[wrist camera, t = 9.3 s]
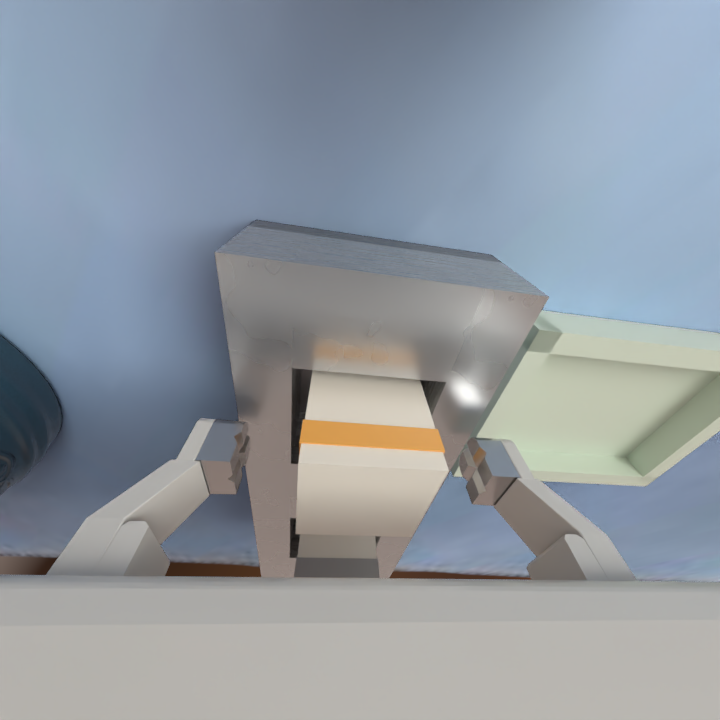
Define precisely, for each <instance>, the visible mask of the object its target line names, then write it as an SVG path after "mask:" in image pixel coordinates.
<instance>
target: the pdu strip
mask: <svg viewBox="0 0 720 720" xmlns="http://www.w3.org/2000/svg"><path fill="white" fill-rule="evenodd" d="M215 259H216V266H217V273H218V280H219V286H220V293H221V300H222V307H223V314H224V321H225V328H226V335H227V342H228V349H229V356H230V363H231V370H232V377H233V384H234V390H235V397H236V404H237V411H238V418H239V421H242V422H248V427H249V430H248V433H247V435H248V436H249V437H250V451H249V456H248V460H247V463H246V465H245V467H246V474H247V481H248V488H249V495H250V501H251V508H252V515H253V522H254V529H255V536H256V543H257V550H258V557H259V564H260V571H261V577H288V578H294V572H295V564H296V557H298V548H299V540H300V534H296V509H297V482H298V461H299V442H300V435H301V429H302V423H303V419H304V420H305V416H306V409H307V403H308V396H309V390H310V383H311V377H312V370H318V371H329V372H340V373H351V374H362V375H373V376H384V377H395V378H406V379H416V380H420V382H421V385H422V388H423V391H424V394H425V397H426V400H427V404H428V407H429V410H430V413H431V416H432V419H433V422H434V426H435V429H438V431H439V434H440V437H441V440H442V443H443V446H444V449H445V452H444V457H445V460H446V463H447V466H448V470H449V472H450V470H451V468H452V467H453V465H454V463H455V461H456V460H457V458H458V456H459V454H460V453H461V451H462V449H463V447H464V446H465V444H466V442H467V440H468V439H469V437H470V435H471V433H472V432H473V430H474V428H475V426H476V425H477V423H478V421H479V419H480V418H481V416H482V414H483V412H484V411H485V409H486V407H487V405H488V404H489V402H490V400H491V398H492V396H493V395H494V393H495V391H496V389H497V388H498V386H499V384H500V382H501V381H502V379H503V377H504V375H505V374H506V372H507V370H508V368H509V367H510V365H511V363H512V361H513V360H514V358H515V356H516V354H517V353H518V351H519V349H520V347H521V346H522V344H523V342H524V340H525V339H526V337H527V335H528V333H529V332H530V330H531V328H532V326H533V324H534V323H535V321H536V319H537V317H538V316H539V314H540V312H541V310H542V309H543V307H544V305H545V303H546V302H547V300H548V298H549V296H547V295H546V294H545V293H543V292H542V291H541V290H539V289H538V288H536V287H535V286H534V285H532V284H531V283H530V282H528V281H527V280H525V279H524V278H523V277H521V276H520V275H519V274H517V273H516V272H514V271H513V270H512V269H510V268H509V267H508V266H506V265H505V264H503V263H502V262H501V261H499V260H498V259H497V258H495V257H494V256H492V255H489V254H482V253H476V252H469V251H462V250H456V249H449V248H442V247H435V246H429V245H422V244H415V243H409V242H402V241H395V240H388V239H382V238H375V237H368V236H362V235H355V234H348V233H341V232H335V231H328V230H321V229H315V228H308V227H301V226H294V225H288V224H281V223H274V222H268V221H261V220H255V221H254V222H253V223H251V224H250V225H249V226H247V227H246V228H245V229H243V230H242V231H241V232H240V233H238V234H237V235H236V236H234V237H233V238H232V239H231V240H229V241H228V242H227V243H225V244H224V245H223V246H222V247H220V248H219V249H218V250H216V251H215ZM449 472H448V474H449ZM448 474H447V475H446V477H447V476H448ZM446 477H445V479H446ZM445 479H444V481H445ZM444 481H443V482H442V484H443V483H444ZM442 484H441V486H442ZM441 486H440V488H441ZM440 488H439V490H440ZM439 490H438V491H439ZM438 491H437V493H438ZM437 493H436V495H437ZM436 495H435V497H436ZM435 497H434V498H435ZM434 498H433V500H434ZM433 500H432V502H433ZM432 502H431V504H432ZM431 504H430V505H431ZM430 505H429V507H430ZM429 507H428V509H429ZM428 509H427V511H428ZM427 511H426V512H427ZM425 514H426V513H425ZM425 514H424V516H425ZM424 516H423V518H424ZM423 518H422V519H423ZM421 521H422V520H421ZM421 521H420V523H421ZM420 523H419V525H420ZM419 525H418V526H419ZM417 528H418V527H417ZM417 528H416V530H417ZM416 530H415V532H416ZM415 532H414V533H415ZM413 535H414V534H413ZM413 535H412V537H413ZM412 537H390V536H375V539H376V553H377V559H378V564H379V577H380V578H389V577H390V576H391V574H392V572H393V570H394V569H395V567H396V565H397V563H398V562H399V560H400V558H401V556H402V555H403V553H404V551H405V549H406V548H407V546H408V544H409V542H410V541H411V539H412Z"/></svg>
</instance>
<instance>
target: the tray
mask: <svg viewBox="0 0 720 720" xmlns="http://www.w3.org/2000/svg"><path fill="white" fill-rule="evenodd" d="M719 431H720V333H715V332H708V331H700V330H692V329H684V328H676V327H668V326H660V325H653V324H645V323H637V322H629V321H621V320H613V319H606V318H598V317H590V316H582V315H574V314H566V313H559V312H551V311H543V310H541V312H540V314H539V316H538V317H537V319H536V321H535V323H534V324H533V326H532V328H531V330H530V332H529V333H528V335H527V337H526V339H525V340H524V342H523V344H522V346H521V347H520V349H519V351H518V353H517V354H516V356H515V358H514V360H513V361H512V363H511V365H510V367H509V368H508V370H507V372H506V374H505V375H504V377H503V379H502V381H501V382H500V384H499V386H498V388H497V389H496V391H495V393H494V395H493V396H492V398H491V400H490V402H489V404H488V405H487V407H486V409H485V411H484V412H483V414H482V416H481V418H480V419H479V421H478V423H477V425H476V426H475V428H474V430H473V432H472V433H471V435H470V437H469V439H470V438H472V437H476V438H494V439H505V440H511V441H513V442H514V443H515V445H516V447H517V449H518V450H519V452H520V454H521V456H522V457H523V459H524V461H525V463H526V464H527V466H528V468H529V470H530V471H531V473H532V475H533V476H534V478H535V479H539V480H540V481H551V482H570V483H590V484H609V485H628V486H647V485H648V484H650V483H651V482H652V481H654V480H655V479H656V478H658V477H659V476H660V475H662V474H663V473H664V472H666V471H667V470H668V469H670V468H671V467H672V466H674V465H675V464H676V463H678V462H679V461H680V460H682V459H683V458H684V457H686V456H687V455H688V454H690V453H691V452H692V451H693V450H695V449H696V448H697V447H699V446H700V445H701V444H703V443H704V442H705V441H707V440H708V439H709V438H711V437H712V436H713V435H715V434H716V433H717V432H719ZM469 439H468V440H469ZM468 440H467V442H468ZM467 442H466V444H465V446H464V447H463V449H462V451H463V450H465V449H466V448H468V445H467ZM462 451H461V453H462ZM461 453H460V454H459V456H458V458H457V460H456V461H455V463H454V465H453V467H452V468H451V472H452V475H453V476H455V477H463V476H462V474H461V471H460V467H459V458H460V455H461Z"/></svg>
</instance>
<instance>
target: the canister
mask: <svg viewBox="0 0 720 720" xmlns="http://www.w3.org/2000/svg"><path fill="white" fill-rule="evenodd" d="M61 423H62V415H61V409H60V406H59V403H58V401H57V398H56V396H55V394H54V392H53V391H52V389H51V387H50V386H49V384H48V383H47V381H46V380H45V379H44V377H43V376H42V375H41V373H40V372H39V371H38V370H37V369H36V368H35V366H34V365H33V364H32V363H31V362H30V361H29V360H28V359H27V358H26V357H25V356H24V355H23V354H22V353H20V352H19V351H18V350H17V349H16V348H15V347H14V346H13V345H11V344H10V343H9V342H8V341H7V340H5V339H4V338H3V337H1V336H0V496H1V495H2V494H3V493H4V492H5V491H6V490H7V489H8V488H9V487H11V486H13V485H14V484H16V483H18V482H19V481H21V480H22V479H23V478H24V477H25V476H26V475H27V474H28V473H29V472H30V470H31V469H32V468H33V467H34V466H35V465H37V464H38V463H39V462H40V461H41V459H42V458H43V457H44V455H45V454H46V452H47V450H48V447H49V445H50V444H51V442H52V441H53V440H54V439H55V438H56V436H57V435H58V433H59V431H60V428H61Z"/></svg>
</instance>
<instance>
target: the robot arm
mask: <svg viewBox="0 0 720 720" xmlns="http://www.w3.org/2000/svg"><path fill="white" fill-rule="evenodd" d="M248 430H249V427H248V422H242V421H231V420H221V419H209V418H200V419H199V420H198V421H197V422H196V424H195V426H194V428H193V430H192V431H191V433H190V435H189V437H188V439H187V440H186V442H185V444H184V446H183V448H182V449H181V451H180V453H179V455H178V457H177V458H176V460H172V459H171V460H169V461H168V462H167V463H165V464H164V465H162V466H161V467H159V468H158V469H156V470H155V471H154V472H152V473H151V474H149V475H148V476H146V477H145V478H143V479H142V480H141V481H139V482H138V483H136V484H135V485H133V486H132V487H130V488H129V489H128V490H126V491H125V492H123V493H122V494H120V495H119V496H117V497H116V498H115V499H113V500H112V501H110V502H109V503H107V504H106V505H105V506H103V507H102V508H100V509H99V510H97V511H96V512H94V513H93V514H92V515H90V516H89V517H87V518H86V519H85V521H84V522H83V524H82V525H81V526H80V528H79V529H78V531H77V532H76V533H75V535H74V536H73V538H72V539H71V541H70V542H69V543H68V545H67V546H66V548H65V549H64V550H63V552H62V553H61V555H60V556H59V557H58V559H57V560H56V562H55V563H54V564H53V566H52V567H51V569H50V570H49V571H48V573H47V574H46V575H0V720H720V582H688V581H637V579H636V578H635V576H634V575H633V573H632V572H631V570H630V569H629V567H628V566H627V564H626V563H625V561H624V560H623V558H622V557H621V555H620V554H619V552H618V551H617V549H616V548H615V546H614V545H613V543H612V542H611V540H610V539H609V537H608V536H607V535H606V534H605V533H604V532H603V531H602V530H600V529H599V528H598V527H597V526H595V525H594V524H593V523H592V522H591V521H589V520H588V519H587V518H586V517H584V516H583V515H582V514H581V513H579V512H578V511H577V510H576V509H575V508H573V507H572V506H571V505H570V504H568V503H567V502H566V501H565V500H564V499H562V498H561V497H560V496H559V495H557V494H556V493H555V492H554V491H552V490H551V489H550V488H549V487H548V486H546V485H545V484H544V483H543V482H541V481H540V480H539V479H535V478H534V476H533V475H532V473H531V471H530V470H529V468H528V466H527V464H526V463H525V461H524V459H523V457H522V456H521V454H520V452H519V450H518V449H517V447H516V445H515V443H514V442H513V441H511V440H505V439H494V438H476V437H472V438H470V439H469V440H468V442H467V445H468V448H466V449H465V450H463V451H462V453H461V455H460V458H459V467H460V471H461V474H462V476H463V477H464V478H465V479H466V480H467V481H468V482H467V485H466V488H467V491H468V494H469V497H470V499H471V502H472V504H477V505H491V506H494V508H495V509H496V510H497V511H498V512H499V514H500V515H501V516H502V517H503V518H504V519H505V520H506V522H507V523H508V524H509V525H510V526H511V527H512V529H513V530H514V531H515V532H516V533H517V534H518V536H519V537H520V538H521V539H522V540H523V541H524V543H525V544H526V545H527V546H528V547H529V548H530V550H531V551H532V552H533V553H534V554H535V555H536V558H535V559H534V560H533V561H531V562H530V563H529V564H528V566H527V570H528V572H529V575H530V577H531V580H488V579H486V580H485V579H484V580H483V579H389V578H288V577H185V576H183V577H179V576H165V574H166V572H167V569H168V567H169V565H170V561H169V559H168V557H167V555H166V554H165V552H164V550H163V549H162V547H161V546H160V545H161V544H162V543H163V542H164V541H165V540H166V539H167V538H168V537H169V536H170V535H171V534H172V533H173V532H174V531H175V530H176V529H177V528H178V527H179V526H180V525H181V524H182V523H183V522H184V521H185V520H186V519H187V518H188V517H189V516H190V515H191V514H192V513H193V512H194V511H195V510H196V509H197V508H198V507H199V506H200V505H201V504H202V503H203V502H204V500H205V499H206V498H207V497H208V496H209V494H237V491H238V488H239V485H240V482H241V478H242V470H241V468H242V467H243V466H244V465H246V463H247V460H248V456H249V451H250V437H249V436H248V435H247V433H248Z"/></svg>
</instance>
